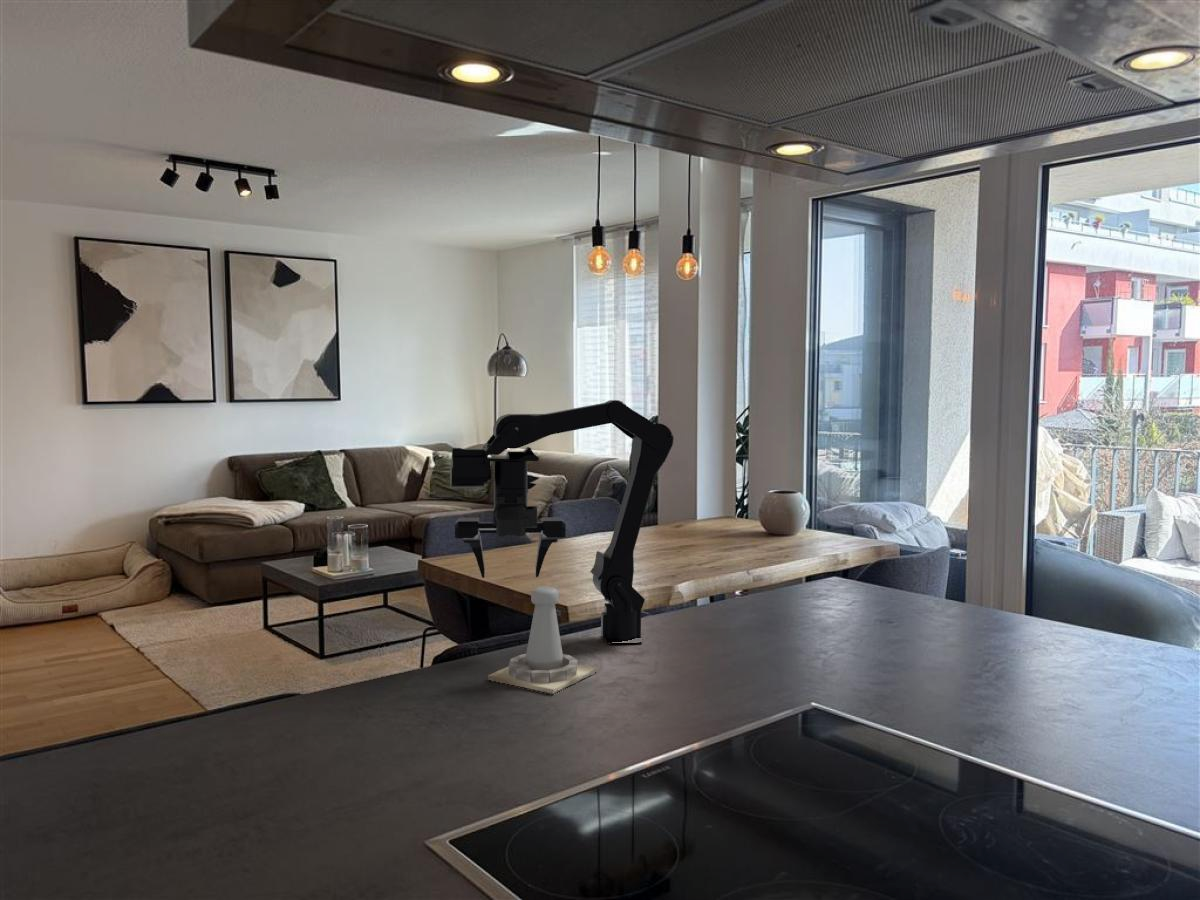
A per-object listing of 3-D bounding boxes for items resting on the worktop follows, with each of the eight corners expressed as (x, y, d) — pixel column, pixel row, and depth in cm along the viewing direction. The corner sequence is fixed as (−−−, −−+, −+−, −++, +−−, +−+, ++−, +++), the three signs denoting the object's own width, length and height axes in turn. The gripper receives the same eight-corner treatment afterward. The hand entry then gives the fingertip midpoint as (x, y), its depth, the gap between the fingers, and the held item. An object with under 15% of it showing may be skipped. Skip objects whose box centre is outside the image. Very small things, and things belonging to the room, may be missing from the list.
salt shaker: (521, 675, 133) (521, 591, 132) (530, 664, 138) (531, 583, 138) (558, 678, 132) (559, 593, 131) (566, 666, 137) (567, 585, 137)
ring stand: (534, 660, 143) (534, 646, 143) (596, 673, 137) (596, 658, 137) (488, 680, 133) (488, 665, 133) (553, 695, 127) (553, 679, 127)
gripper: (453, 492, 141) (453, 588, 142) (568, 492, 143) (567, 586, 144) (456, 485, 152) (456, 574, 153) (563, 485, 154) (562, 572, 155)
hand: (510, 577), depth 151 cm, fingers open, 9 cm apart
